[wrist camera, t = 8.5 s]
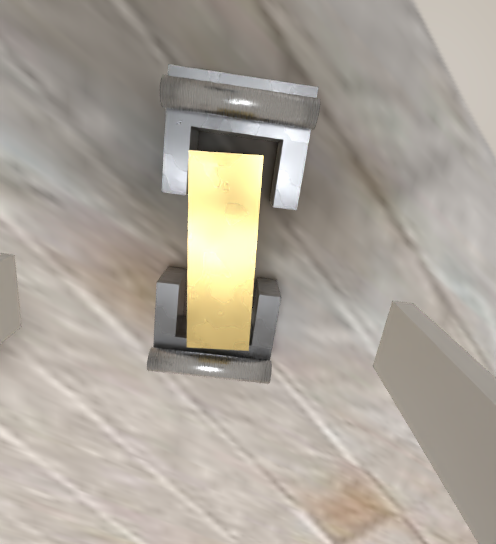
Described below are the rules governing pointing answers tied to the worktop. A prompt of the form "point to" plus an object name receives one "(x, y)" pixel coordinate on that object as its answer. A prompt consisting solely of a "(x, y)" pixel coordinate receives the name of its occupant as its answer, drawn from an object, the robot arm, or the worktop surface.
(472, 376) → the robot arm
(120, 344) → the worktop surface
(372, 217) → the worktop surface
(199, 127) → the bracket
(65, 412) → the worktop surface
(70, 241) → the worktop surface
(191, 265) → the gold rectangular block
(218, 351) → the chain end
